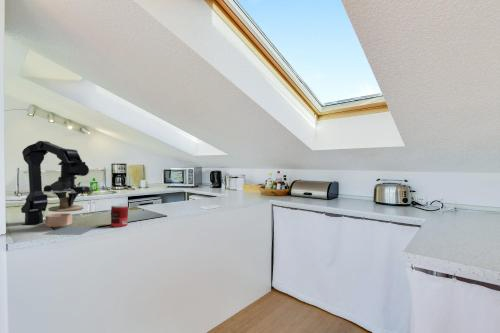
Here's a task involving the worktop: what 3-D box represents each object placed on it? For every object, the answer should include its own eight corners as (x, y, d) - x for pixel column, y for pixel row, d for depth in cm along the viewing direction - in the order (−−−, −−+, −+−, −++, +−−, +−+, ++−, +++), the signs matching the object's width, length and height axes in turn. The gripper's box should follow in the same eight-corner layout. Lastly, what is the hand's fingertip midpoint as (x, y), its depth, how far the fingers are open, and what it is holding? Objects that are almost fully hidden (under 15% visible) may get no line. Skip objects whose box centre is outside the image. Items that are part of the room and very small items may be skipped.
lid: (40, 211, 119) (41, 198, 119) (61, 206, 133) (61, 195, 133) (72, 212, 120) (72, 199, 120) (89, 207, 134) (89, 196, 134)
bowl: (40, 227, 127) (41, 217, 127) (55, 222, 137) (55, 213, 137) (62, 227, 128) (63, 217, 128) (75, 222, 138) (76, 213, 138)
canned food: (128, 224, 138) (128, 203, 138) (126, 227, 130) (127, 205, 130) (112, 225, 135) (112, 204, 135) (109, 228, 127) (110, 206, 128)
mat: (42, 235, 113) (42, 234, 113) (66, 226, 129) (66, 225, 129) (80, 235, 114) (80, 234, 114) (99, 227, 130) (99, 226, 130)
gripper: (35, 174, 118) (33, 208, 118) (77, 176, 119) (75, 210, 119) (52, 173, 129) (51, 204, 129) (91, 175, 130) (89, 206, 130)
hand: (66, 206), depth 126 cm, fingers closed on lid, 3 cm apart
